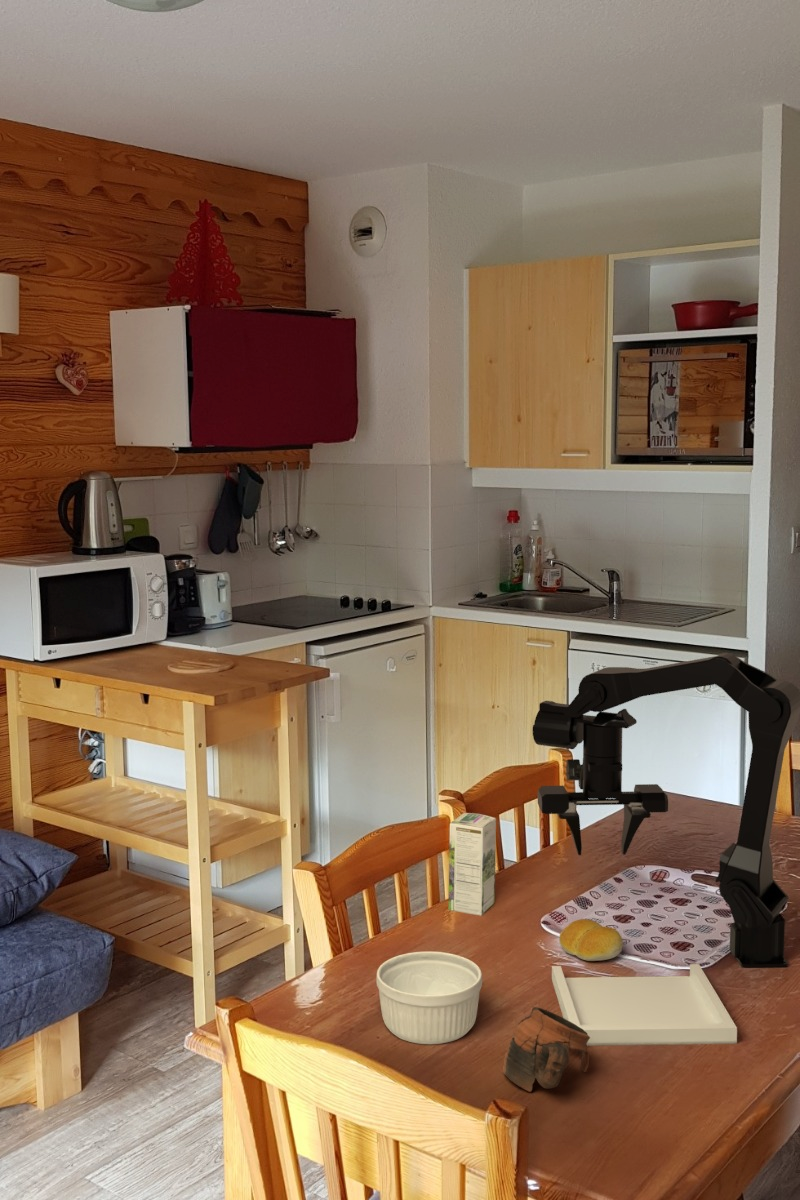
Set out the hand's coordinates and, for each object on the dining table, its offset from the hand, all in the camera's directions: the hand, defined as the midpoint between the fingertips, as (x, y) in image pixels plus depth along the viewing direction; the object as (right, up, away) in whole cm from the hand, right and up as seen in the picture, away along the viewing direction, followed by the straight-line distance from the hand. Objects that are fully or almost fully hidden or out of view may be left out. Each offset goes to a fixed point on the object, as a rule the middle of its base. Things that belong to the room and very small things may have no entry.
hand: (601, 854), depth 180 cm
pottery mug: (-15, -18, -44) cm, 50 cm away
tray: (0, -14, -26) cm, 30 cm away
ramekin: (-27, -15, -29) cm, 43 cm away
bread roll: (0, -13, -9) cm, 16 cm away
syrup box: (-19, -10, +8) cm, 23 cm away
